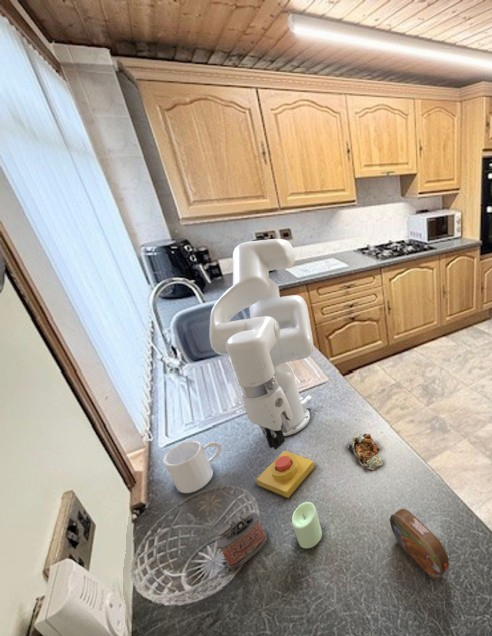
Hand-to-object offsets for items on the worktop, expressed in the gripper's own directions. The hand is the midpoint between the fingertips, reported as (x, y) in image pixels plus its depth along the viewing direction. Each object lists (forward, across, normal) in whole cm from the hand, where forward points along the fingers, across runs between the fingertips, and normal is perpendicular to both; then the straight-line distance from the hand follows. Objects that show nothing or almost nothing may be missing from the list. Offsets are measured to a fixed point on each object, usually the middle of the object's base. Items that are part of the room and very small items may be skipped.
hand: (277, 444), depth 86 cm
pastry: (+11, -16, -14) cm, 24 cm away
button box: (+11, 0, 0) cm, 11 cm away
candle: (+11, -16, +11) cm, 23 cm away
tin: (+11, -40, +5) cm, 42 cm away
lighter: (+11, -6, +18) cm, 22 cm away
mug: (+11, +21, +8) cm, 25 cm away
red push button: (+7, 0, 0) cm, 7 cm away
